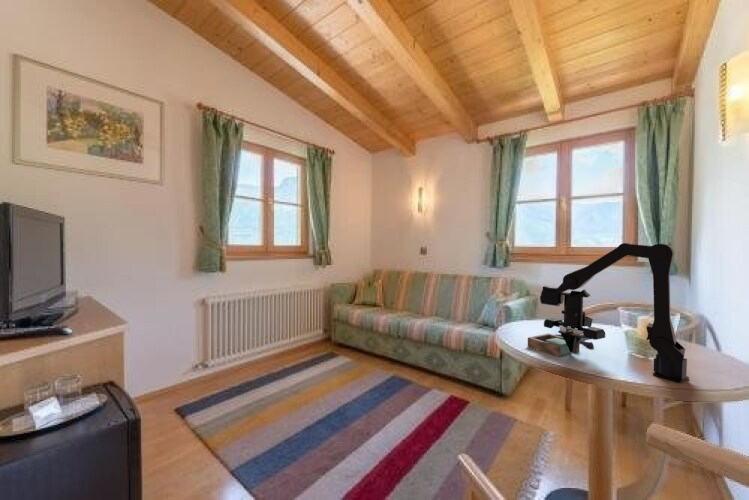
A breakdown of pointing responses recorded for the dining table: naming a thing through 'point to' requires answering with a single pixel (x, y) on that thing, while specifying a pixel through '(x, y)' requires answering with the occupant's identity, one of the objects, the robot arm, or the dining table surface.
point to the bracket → (582, 341)
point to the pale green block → (560, 343)
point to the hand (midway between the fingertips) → (572, 352)
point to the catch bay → (547, 344)
